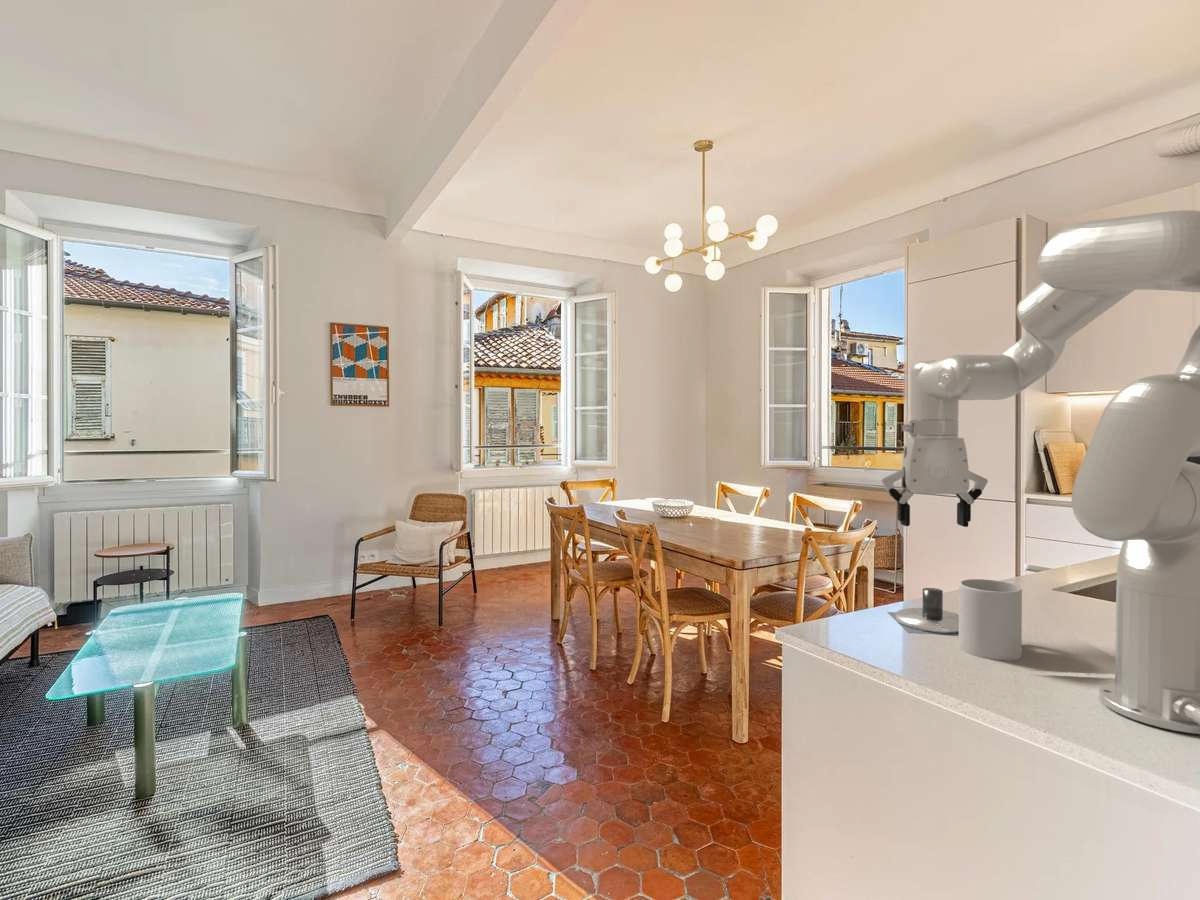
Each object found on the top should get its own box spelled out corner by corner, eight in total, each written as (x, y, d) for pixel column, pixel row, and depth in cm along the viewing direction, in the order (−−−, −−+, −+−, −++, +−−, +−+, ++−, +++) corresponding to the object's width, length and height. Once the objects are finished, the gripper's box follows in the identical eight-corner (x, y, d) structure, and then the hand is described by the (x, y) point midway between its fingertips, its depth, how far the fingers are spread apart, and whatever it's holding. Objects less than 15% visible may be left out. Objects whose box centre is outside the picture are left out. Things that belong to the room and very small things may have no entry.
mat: (983, 638, 105) (983, 635, 105) (908, 636, 107) (908, 632, 107) (954, 617, 117) (954, 614, 117) (887, 615, 119) (887, 612, 119)
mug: (1009, 668, 92) (1009, 595, 92) (948, 652, 99) (949, 584, 99) (1038, 650, 99) (1039, 582, 99) (980, 636, 106) (980, 573, 106)
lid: (983, 635, 105) (983, 600, 105) (908, 632, 107) (908, 598, 107) (954, 614, 117) (954, 582, 117) (887, 612, 119) (887, 581, 118)
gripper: (888, 431, 108) (888, 528, 109) (996, 429, 106) (995, 529, 106) (877, 430, 116) (876, 521, 116) (977, 429, 113) (976, 522, 114)
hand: (933, 525), depth 111 cm, fingers open, 9 cm apart
